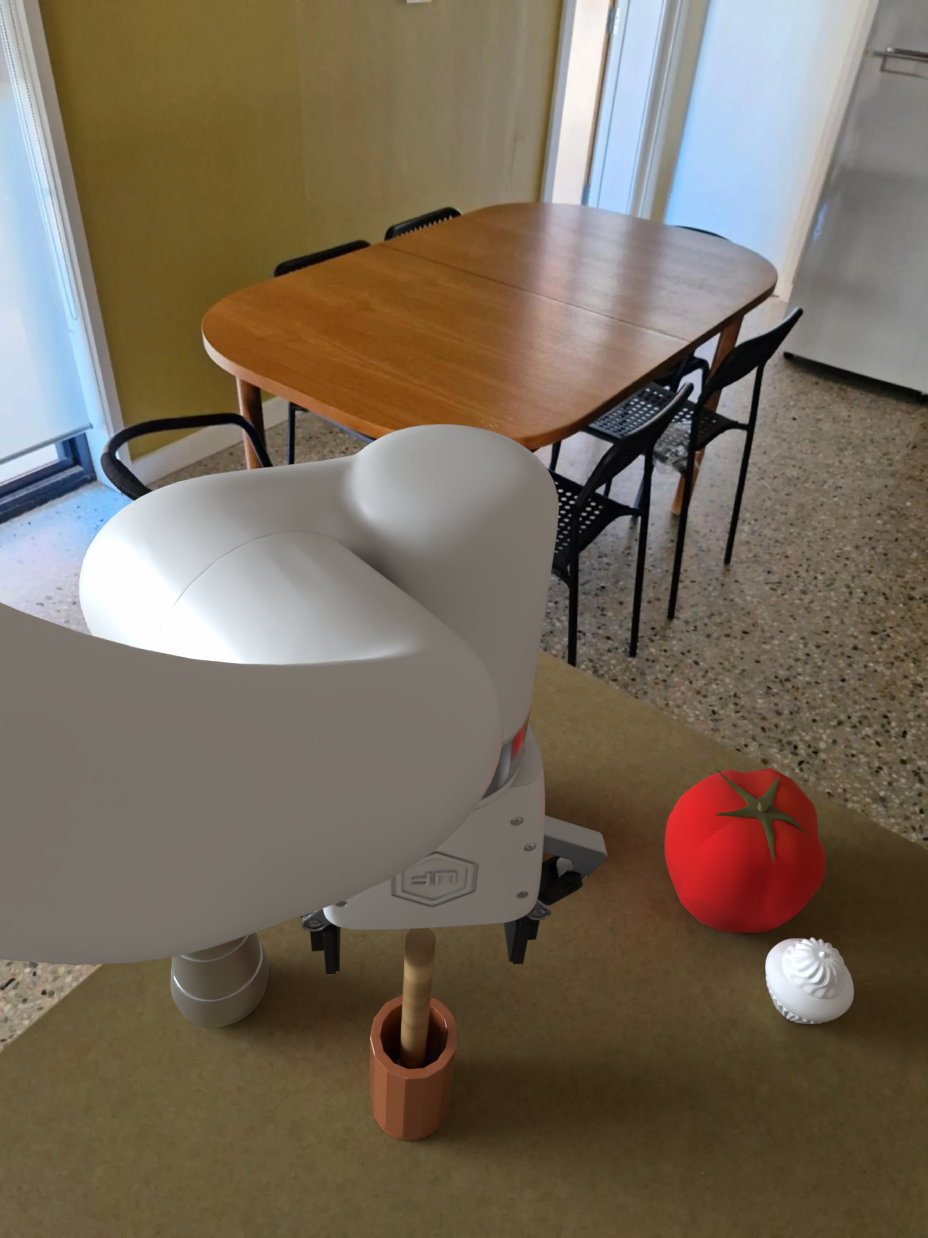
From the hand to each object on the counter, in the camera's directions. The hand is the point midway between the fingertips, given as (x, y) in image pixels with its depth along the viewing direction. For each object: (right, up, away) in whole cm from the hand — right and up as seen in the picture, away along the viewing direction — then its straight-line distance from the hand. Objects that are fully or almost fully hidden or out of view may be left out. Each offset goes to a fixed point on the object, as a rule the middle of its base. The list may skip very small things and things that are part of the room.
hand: (423, 944), depth 48 cm
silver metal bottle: (-15, -10, +16) cm, 24 cm away
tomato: (+24, -5, +26) cm, 36 cm away
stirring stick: (-1, -14, +11) cm, 18 cm away
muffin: (+27, -11, +19) cm, 35 cm away
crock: (-1, -15, +12) cm, 19 cm away
